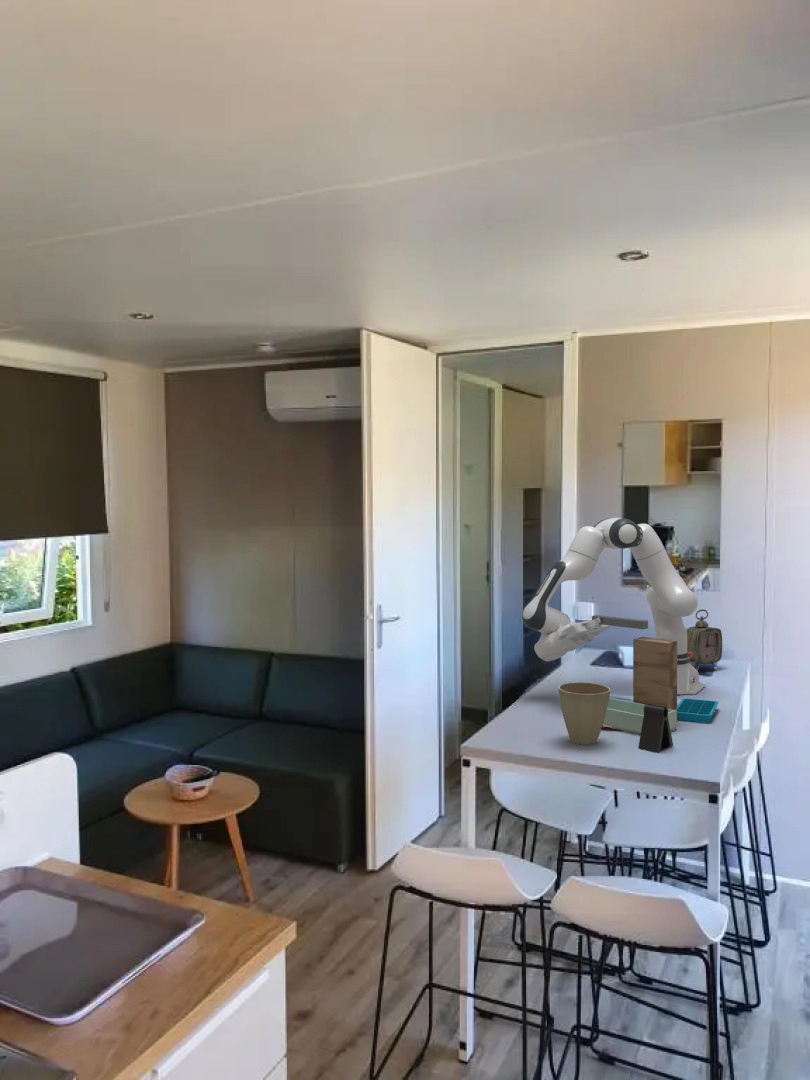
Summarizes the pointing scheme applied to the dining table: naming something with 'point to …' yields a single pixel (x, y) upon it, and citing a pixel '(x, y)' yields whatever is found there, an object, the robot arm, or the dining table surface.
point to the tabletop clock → (704, 642)
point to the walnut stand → (655, 672)
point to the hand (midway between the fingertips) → (604, 618)
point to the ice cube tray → (696, 710)
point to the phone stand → (655, 729)
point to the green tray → (631, 716)
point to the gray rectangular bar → (622, 622)
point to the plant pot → (584, 710)
